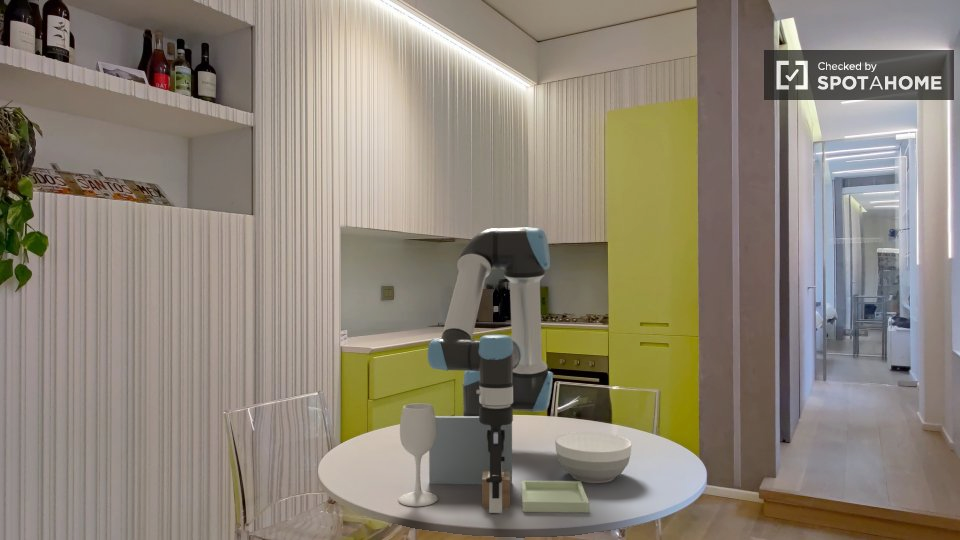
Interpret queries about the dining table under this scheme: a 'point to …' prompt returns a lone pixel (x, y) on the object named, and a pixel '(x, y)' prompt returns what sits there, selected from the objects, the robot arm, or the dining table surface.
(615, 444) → the bowl
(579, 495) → the tray
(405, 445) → the wineglass
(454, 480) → the screen
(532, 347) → the robot arm
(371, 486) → the dining table surface
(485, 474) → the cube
